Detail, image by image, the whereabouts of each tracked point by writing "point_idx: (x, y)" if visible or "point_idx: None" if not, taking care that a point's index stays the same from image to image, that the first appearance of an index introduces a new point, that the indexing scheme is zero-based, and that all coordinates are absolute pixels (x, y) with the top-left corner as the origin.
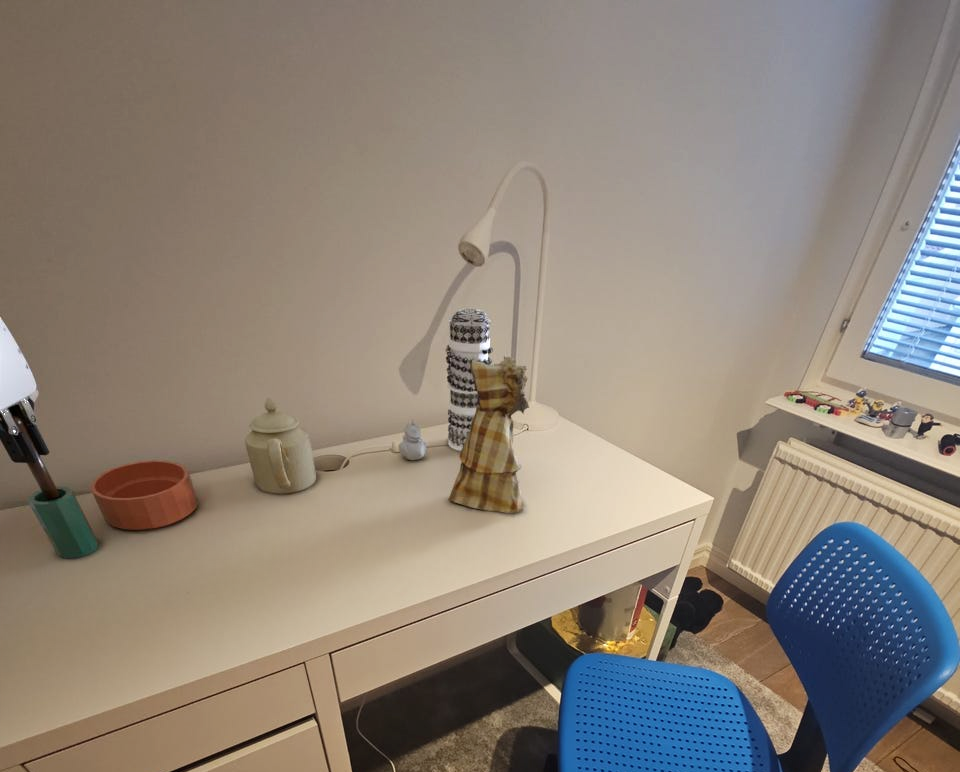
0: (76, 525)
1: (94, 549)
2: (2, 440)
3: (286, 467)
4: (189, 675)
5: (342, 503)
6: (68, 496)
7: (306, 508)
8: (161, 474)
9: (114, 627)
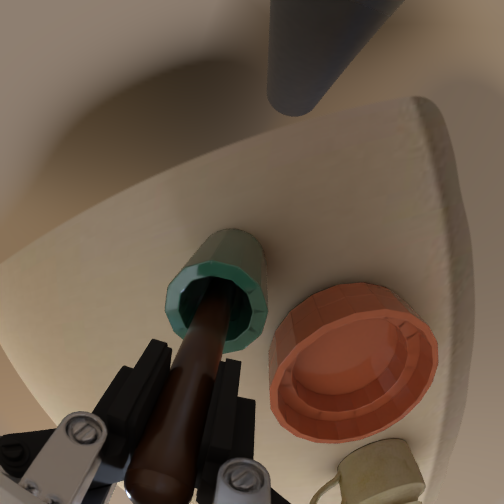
0: None
1: None
2: (97, 407)
3: (341, 495)
4: (31, 389)
5: (295, 496)
6: None
7: (293, 480)
8: (413, 375)
9: (59, 340)
